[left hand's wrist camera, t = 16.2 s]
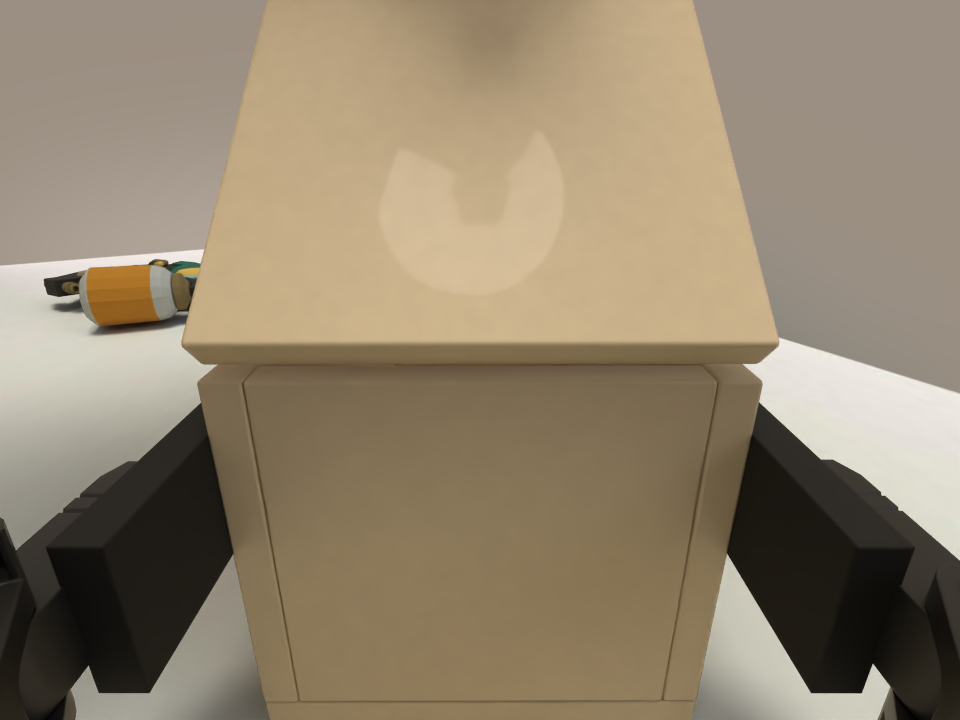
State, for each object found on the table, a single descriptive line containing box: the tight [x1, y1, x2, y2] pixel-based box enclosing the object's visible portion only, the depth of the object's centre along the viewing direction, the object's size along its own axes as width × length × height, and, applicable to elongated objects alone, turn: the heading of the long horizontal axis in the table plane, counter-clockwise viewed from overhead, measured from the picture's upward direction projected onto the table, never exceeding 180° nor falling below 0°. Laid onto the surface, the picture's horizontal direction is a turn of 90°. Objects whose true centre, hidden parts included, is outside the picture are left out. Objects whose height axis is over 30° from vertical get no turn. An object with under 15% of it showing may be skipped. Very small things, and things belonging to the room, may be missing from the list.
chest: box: [197, 364, 762, 720], centre depth 19 cm, size 17×10×9 cm, turn 0°
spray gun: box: [44, 259, 201, 326], centre depth 45 cm, size 4×17×15 cm
